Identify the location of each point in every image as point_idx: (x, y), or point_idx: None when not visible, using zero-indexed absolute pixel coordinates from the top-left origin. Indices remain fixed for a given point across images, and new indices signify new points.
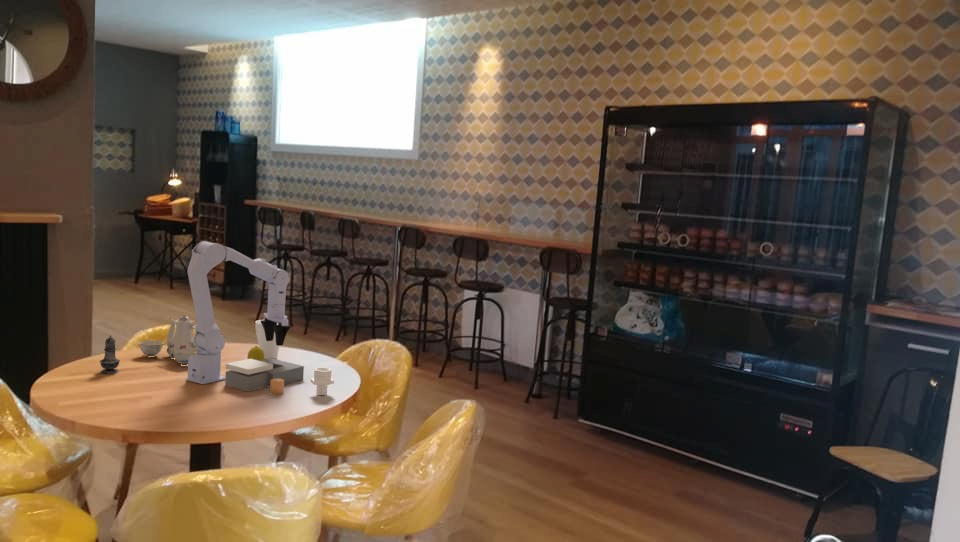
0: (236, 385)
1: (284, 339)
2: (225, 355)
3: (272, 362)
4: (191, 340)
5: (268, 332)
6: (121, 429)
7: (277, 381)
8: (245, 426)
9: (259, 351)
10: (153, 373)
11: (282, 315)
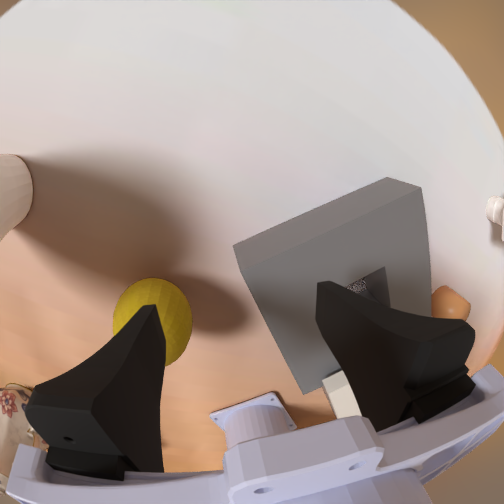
0: None
1: (356, 293)
2: None
3: (310, 293)
4: (25, 438)
5: (154, 381)
6: None
7: (464, 318)
8: (486, 359)
9: (180, 338)
10: (167, 465)
11: (426, 497)
